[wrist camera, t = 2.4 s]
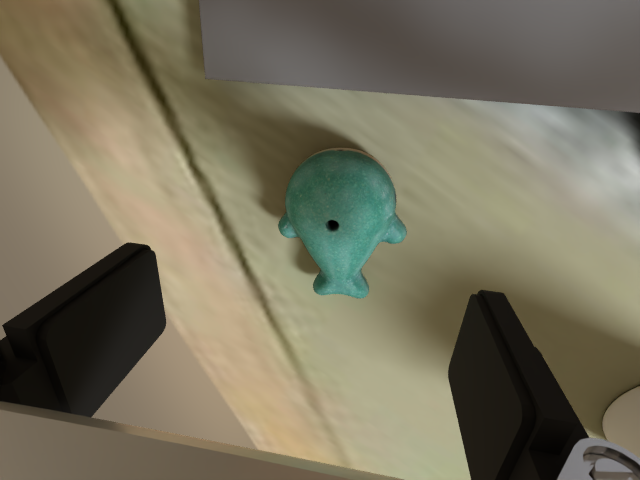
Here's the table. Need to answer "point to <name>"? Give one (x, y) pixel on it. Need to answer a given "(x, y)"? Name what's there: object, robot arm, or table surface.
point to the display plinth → (434, 48)
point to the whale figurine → (341, 216)
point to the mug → (624, 421)
